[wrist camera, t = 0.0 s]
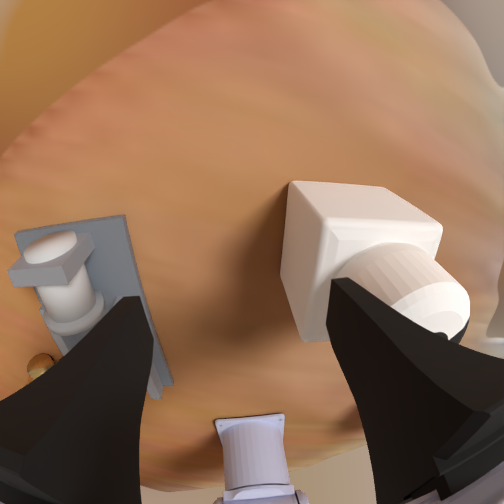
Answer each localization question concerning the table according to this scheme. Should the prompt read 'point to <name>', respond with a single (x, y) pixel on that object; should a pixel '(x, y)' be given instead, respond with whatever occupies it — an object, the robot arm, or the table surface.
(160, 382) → the grey piece
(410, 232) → the medicine bottle
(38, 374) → the valve
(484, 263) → the table surface
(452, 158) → the table surface
